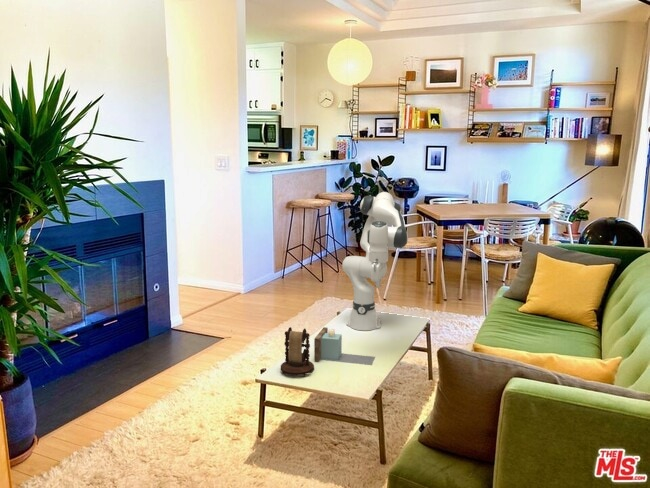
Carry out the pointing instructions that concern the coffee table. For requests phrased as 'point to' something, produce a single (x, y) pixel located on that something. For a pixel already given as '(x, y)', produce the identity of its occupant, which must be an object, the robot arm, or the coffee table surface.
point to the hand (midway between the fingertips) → (377, 286)
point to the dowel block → (331, 345)
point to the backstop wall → (318, 344)
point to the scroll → (297, 354)
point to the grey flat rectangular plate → (354, 359)
